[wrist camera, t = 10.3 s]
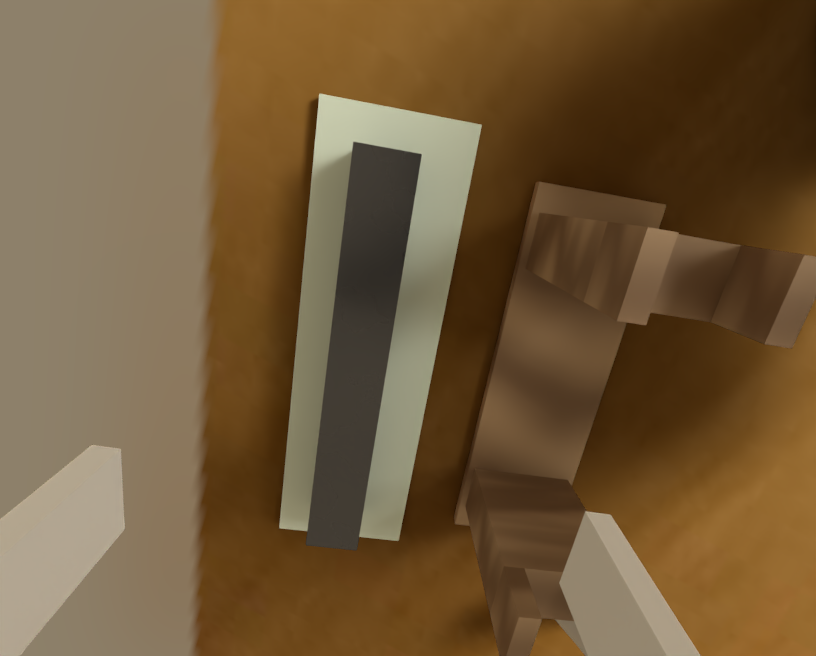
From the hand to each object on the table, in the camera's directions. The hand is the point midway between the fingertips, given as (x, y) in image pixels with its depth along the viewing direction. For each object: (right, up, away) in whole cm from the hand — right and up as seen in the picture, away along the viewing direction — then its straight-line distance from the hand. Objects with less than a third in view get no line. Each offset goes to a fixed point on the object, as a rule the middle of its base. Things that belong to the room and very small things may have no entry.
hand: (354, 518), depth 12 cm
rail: (-1, +4, +12) cm, 13 cm away
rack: (+10, +2, +14) cm, 17 cm away
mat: (-1, +4, +13) cm, 13 cm away
